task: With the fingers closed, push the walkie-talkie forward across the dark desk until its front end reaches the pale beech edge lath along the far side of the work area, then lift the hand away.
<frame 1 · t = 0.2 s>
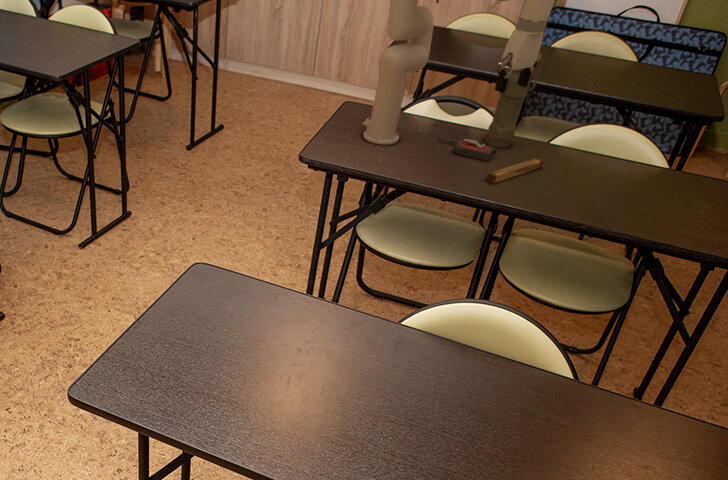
hand: (510, 88, 199), 31 cm above the table, tool pointing down, fingers open, 9 cm apart
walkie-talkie: (464, 151, 240), on the table
edge lath: (513, 174, 226), on the table
thermos: (496, 143, 246), on the table
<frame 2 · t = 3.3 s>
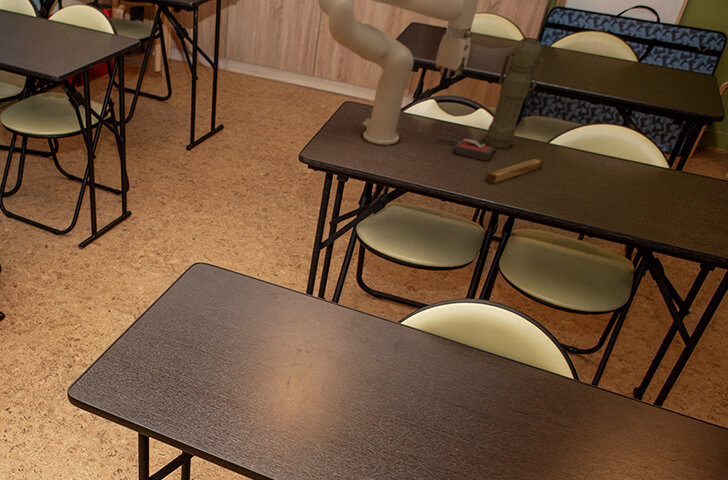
hand: (443, 88, 239), 17 cm above the table, tool pointing down, fingers closed
nothing on the table moved.
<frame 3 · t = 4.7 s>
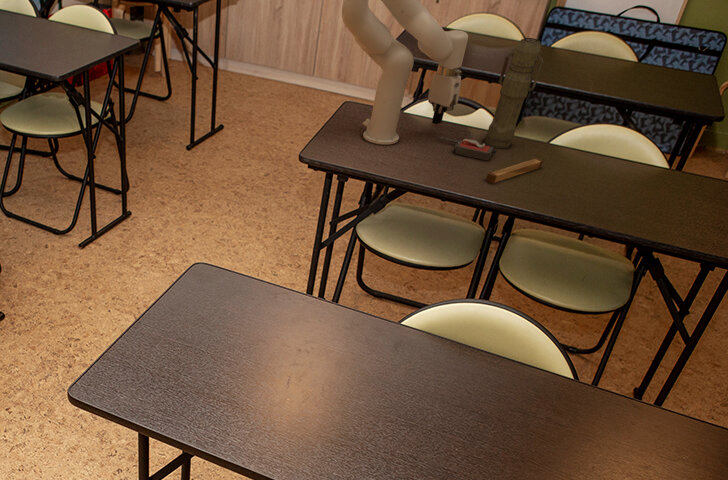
hand: (436, 122, 247), 5 cm above the table, tool pointing down, fingers closed
nothing on the table moved.
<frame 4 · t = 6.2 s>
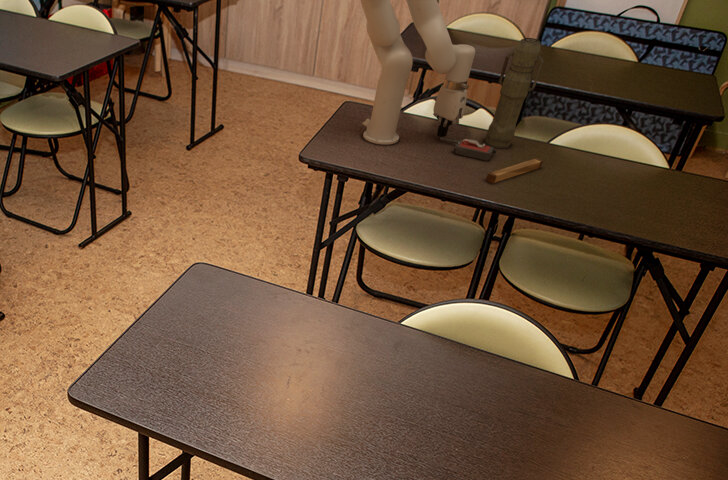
hand: (441, 136, 246), 1 cm above the table, tool pointing down, fingers closed
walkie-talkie: (464, 151, 240), on the table, touching gripper
everything else where it was.
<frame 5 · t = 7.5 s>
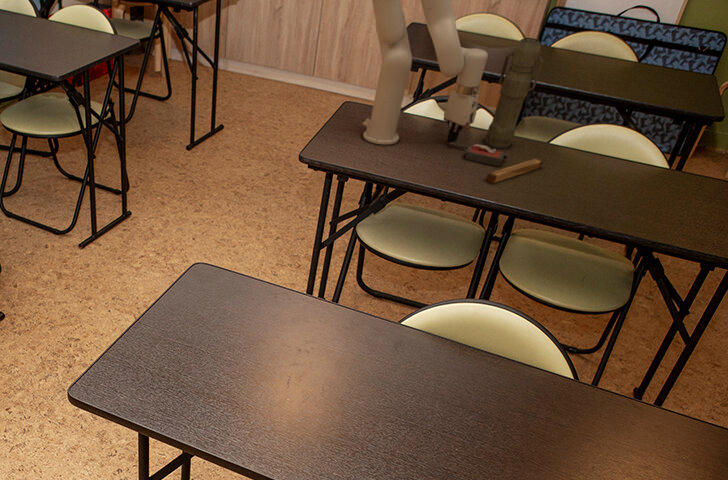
hand: (451, 141, 243), 1 cm above the table, tool pointing down, fingers closed
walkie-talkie: (474, 157, 237), on the table, touching gripper
everything else where it was.
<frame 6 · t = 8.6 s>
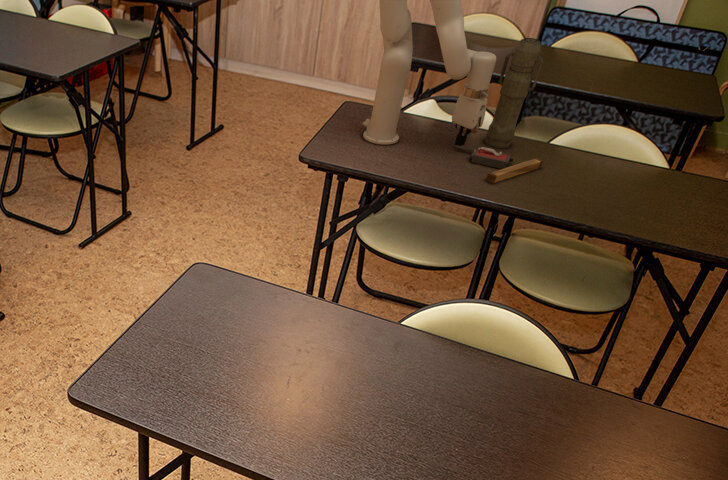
hand: (459, 144, 241), 1 cm above the table, tool pointing down, fingers closed
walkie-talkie: (480, 160, 235), on the table, touching gripper
everything else where it was.
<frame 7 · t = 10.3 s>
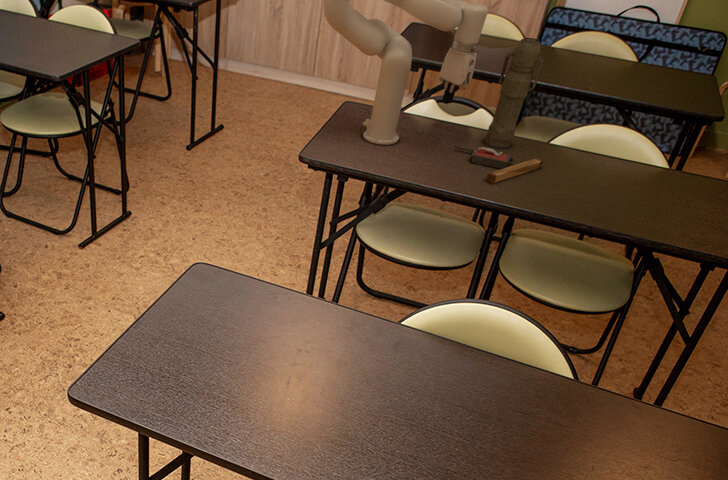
hand: (446, 102, 234), 15 cm above the table, tool pointing down, fingers closed
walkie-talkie: (480, 160, 235), on the table
everything else where it was.
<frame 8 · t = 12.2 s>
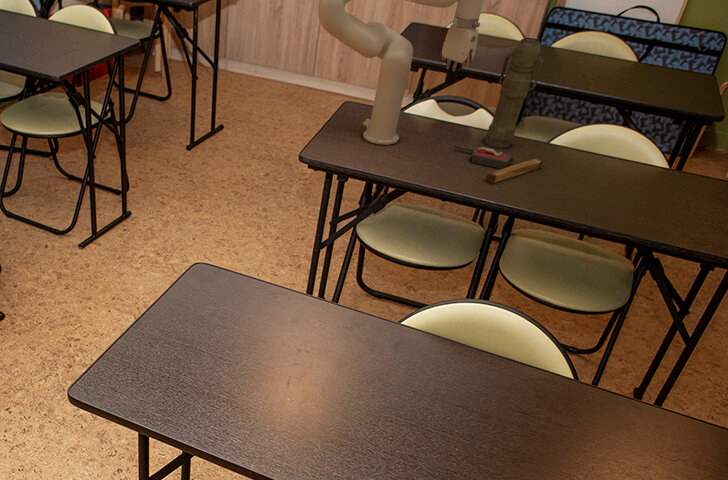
hand: (449, 81, 229), 22 cm above the table, tool pointing down, fingers closed
nothing on the table moved.
at the end: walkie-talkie inside the target area (1.2 cm from its centre), on the table; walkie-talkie tilted 2° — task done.
